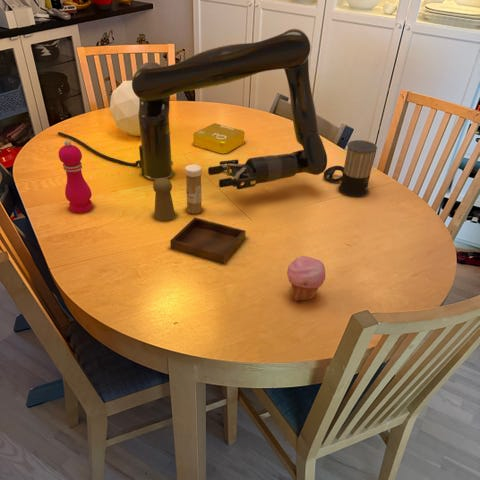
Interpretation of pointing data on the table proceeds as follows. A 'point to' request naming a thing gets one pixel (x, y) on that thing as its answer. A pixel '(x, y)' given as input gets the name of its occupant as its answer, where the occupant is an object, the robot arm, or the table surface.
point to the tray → (208, 240)
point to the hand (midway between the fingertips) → (213, 177)
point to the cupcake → (305, 277)
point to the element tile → (219, 138)
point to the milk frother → (355, 168)
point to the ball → (125, 108)
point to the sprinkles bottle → (193, 188)
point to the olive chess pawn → (163, 200)
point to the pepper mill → (75, 179)
